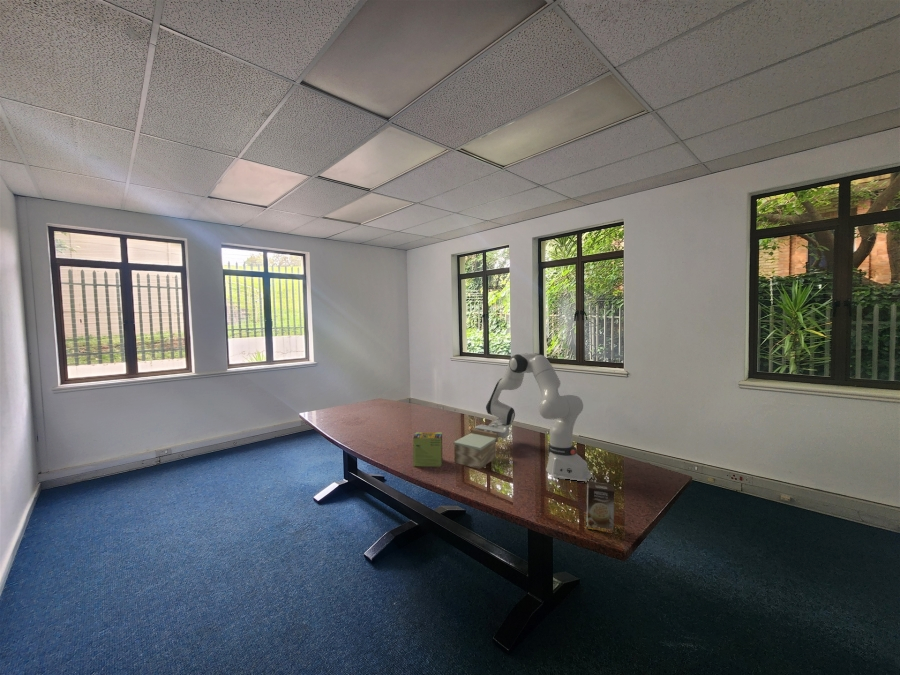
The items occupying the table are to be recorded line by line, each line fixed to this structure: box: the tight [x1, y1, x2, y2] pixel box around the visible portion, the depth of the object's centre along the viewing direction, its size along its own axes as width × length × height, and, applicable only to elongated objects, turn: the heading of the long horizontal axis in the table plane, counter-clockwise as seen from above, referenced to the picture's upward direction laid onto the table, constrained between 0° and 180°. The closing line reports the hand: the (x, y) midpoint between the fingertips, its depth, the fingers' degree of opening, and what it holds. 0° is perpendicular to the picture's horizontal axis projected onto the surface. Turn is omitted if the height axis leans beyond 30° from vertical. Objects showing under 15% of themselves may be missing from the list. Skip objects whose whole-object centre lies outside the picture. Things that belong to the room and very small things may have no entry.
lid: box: [453, 428, 499, 450], centre depth 199 cm, size 17×21×4 cm
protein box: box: [412, 431, 443, 467], centre depth 196 cm, size 10×15×16 cm
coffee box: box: [585, 480, 615, 531], centre depth 134 cm, size 9×6×16 cm
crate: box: [453, 441, 497, 470], centre depth 199 cm, size 16×18×10 cm
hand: (485, 434), depth 208 cm, fingers closed, pressing on lid
